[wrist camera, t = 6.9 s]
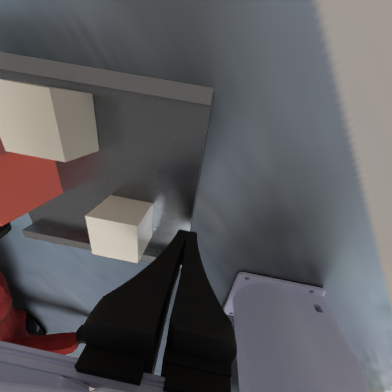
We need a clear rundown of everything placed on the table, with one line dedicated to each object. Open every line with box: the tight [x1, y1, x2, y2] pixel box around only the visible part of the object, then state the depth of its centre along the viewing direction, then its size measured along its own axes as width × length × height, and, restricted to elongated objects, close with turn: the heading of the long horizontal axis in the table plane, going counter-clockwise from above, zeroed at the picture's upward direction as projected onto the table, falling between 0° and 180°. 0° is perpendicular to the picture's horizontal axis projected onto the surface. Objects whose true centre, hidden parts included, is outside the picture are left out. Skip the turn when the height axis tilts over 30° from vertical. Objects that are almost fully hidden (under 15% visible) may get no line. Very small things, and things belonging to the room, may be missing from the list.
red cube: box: [0, 138, 63, 226], centre depth 11 cm, size 4×4×4 cm
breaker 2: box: [85, 195, 153, 263], centre depth 13 cm, size 4×4×3 cm
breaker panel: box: [0, 52, 214, 269], centre depth 13 cm, size 15×14×3 cm
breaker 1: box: [0, 79, 99, 162], centre depth 10 cm, size 4×4×3 cm
